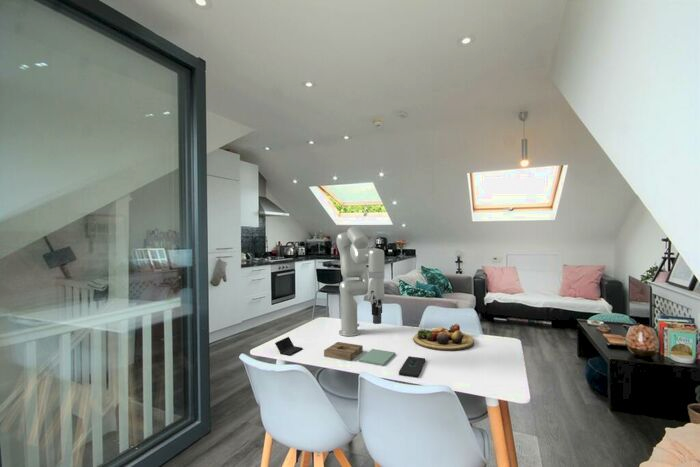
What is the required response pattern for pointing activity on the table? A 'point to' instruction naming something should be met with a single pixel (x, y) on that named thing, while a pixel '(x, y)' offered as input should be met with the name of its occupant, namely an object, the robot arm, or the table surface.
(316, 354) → the table surface
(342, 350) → the wooden block with hole
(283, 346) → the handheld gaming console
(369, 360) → the mat
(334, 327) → the table surface
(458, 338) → the wooden plate with food
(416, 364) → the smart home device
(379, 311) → the plug
